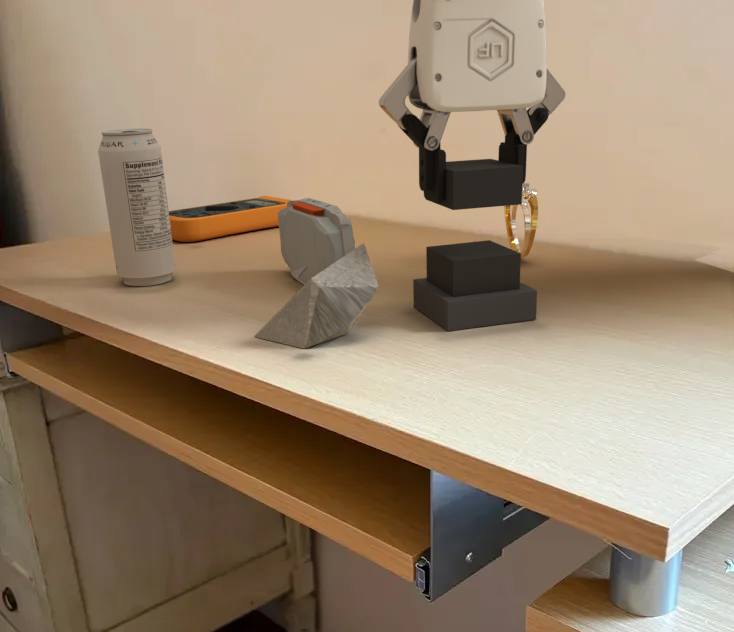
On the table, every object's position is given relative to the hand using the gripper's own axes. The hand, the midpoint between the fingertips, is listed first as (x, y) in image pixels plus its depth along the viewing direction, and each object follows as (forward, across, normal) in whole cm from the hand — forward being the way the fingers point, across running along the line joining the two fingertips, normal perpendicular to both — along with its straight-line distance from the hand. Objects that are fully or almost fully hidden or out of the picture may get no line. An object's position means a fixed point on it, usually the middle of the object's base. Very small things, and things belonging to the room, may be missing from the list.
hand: (472, 194), depth 68 cm
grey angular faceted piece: (+10, -13, 0) cm, 16 cm away
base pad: (+10, 0, 0) cm, 10 cm away
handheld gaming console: (+10, -10, +16) cm, 21 cm away
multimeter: (+10, -14, +49) cm, 52 cm away
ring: (+10, +13, +17) cm, 24 cm away
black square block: (+8, 0, 0) cm, 8 cm away
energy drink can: (+10, -26, +25) cm, 37 cm away
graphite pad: (+1, 0, 0) cm, 1 cm away
